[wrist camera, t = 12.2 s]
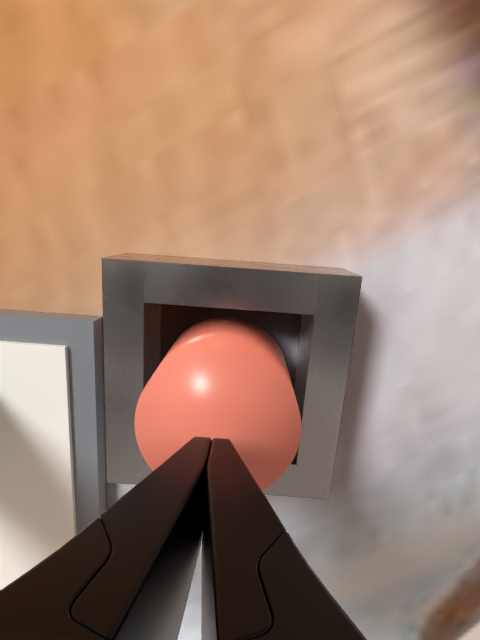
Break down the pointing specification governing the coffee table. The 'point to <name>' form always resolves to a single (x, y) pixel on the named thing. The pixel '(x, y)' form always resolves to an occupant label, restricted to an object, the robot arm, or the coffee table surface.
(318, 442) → the button housing
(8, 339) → the drawing board
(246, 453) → the button
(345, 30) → the coffee table surface
